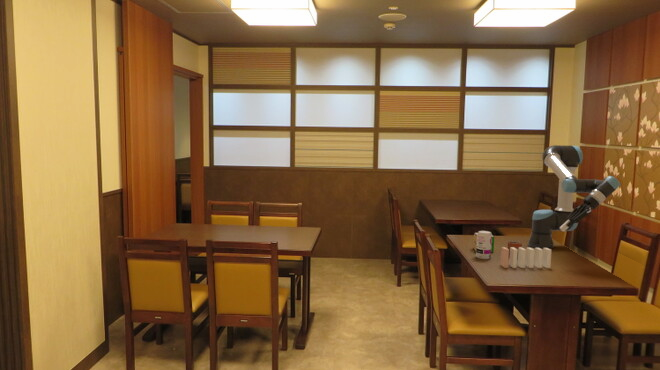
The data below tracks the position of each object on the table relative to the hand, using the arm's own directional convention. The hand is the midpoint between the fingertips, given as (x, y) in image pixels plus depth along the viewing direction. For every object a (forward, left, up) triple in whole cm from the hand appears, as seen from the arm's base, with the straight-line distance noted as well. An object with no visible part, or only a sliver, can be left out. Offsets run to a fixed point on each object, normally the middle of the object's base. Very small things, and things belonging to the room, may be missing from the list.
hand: (561, 229), depth 261 cm
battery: (+18, -16, -20) cm, 32 cm away
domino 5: (+13, +2, -20) cm, 24 cm away
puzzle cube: (+30, -33, -20) cm, 49 cm away
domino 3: (+22, +2, -20) cm, 30 cm away
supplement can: (+36, -16, -20) cm, 44 cm away
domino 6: (+8, +2, -20) cm, 22 cm away
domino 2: (+26, +2, -20) cm, 33 cm away
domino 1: (+31, +2, -20) cm, 37 cm away
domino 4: (+17, +2, -20) cm, 27 cm away
